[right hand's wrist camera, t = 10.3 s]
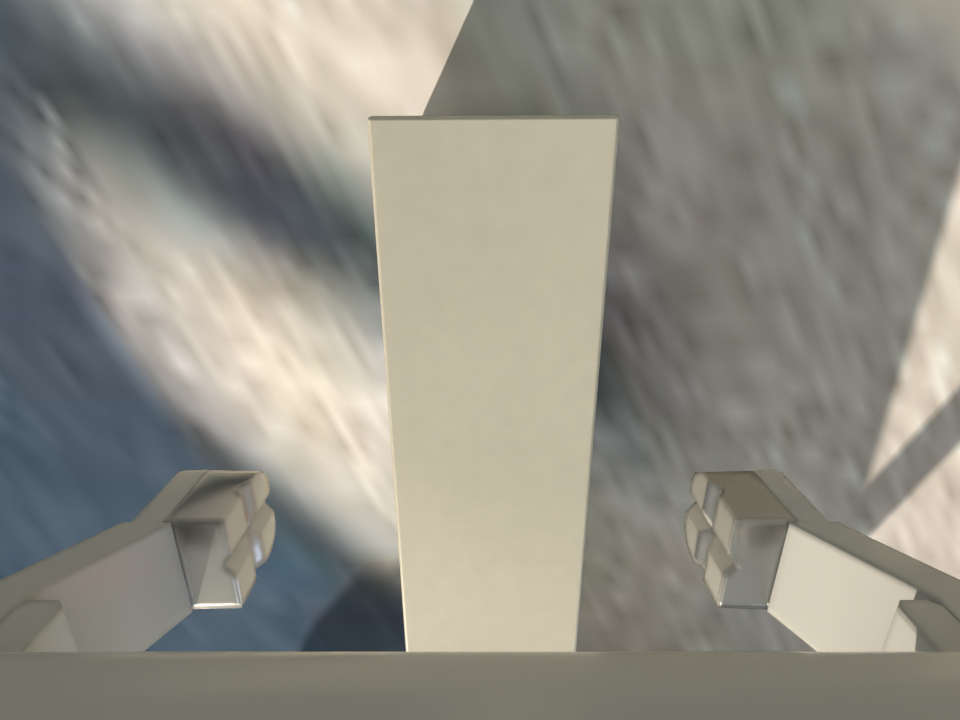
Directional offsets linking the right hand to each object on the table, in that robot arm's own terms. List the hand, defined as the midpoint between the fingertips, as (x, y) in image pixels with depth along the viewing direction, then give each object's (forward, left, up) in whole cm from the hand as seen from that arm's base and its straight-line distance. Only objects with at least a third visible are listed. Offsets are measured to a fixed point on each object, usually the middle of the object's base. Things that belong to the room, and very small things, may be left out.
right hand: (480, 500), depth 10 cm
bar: (+13, -22, -11) cm, 28 cm away
